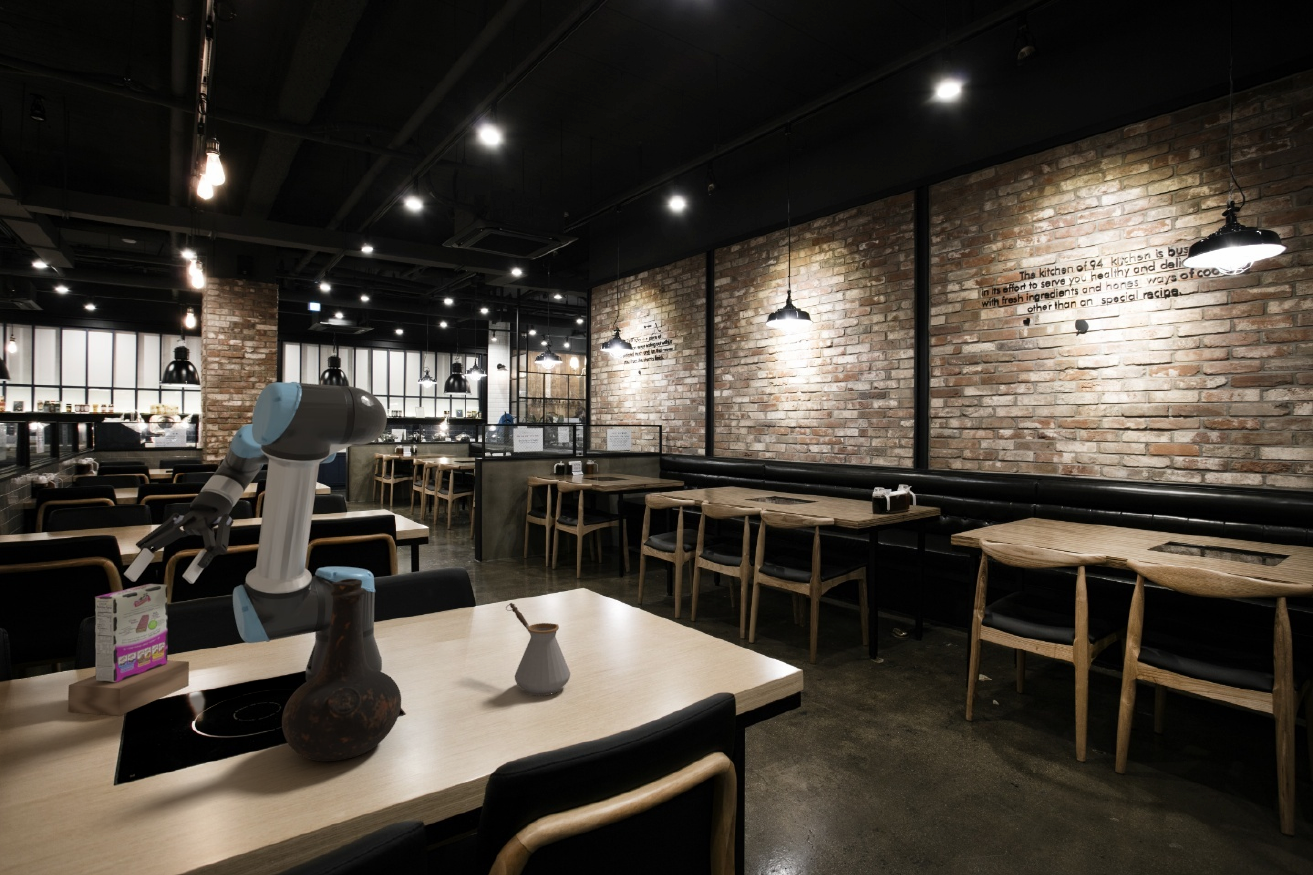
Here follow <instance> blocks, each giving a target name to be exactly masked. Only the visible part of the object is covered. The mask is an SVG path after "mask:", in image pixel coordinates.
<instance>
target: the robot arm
mask: <svg viewBox="0 0 1313 875" xmlns="http://www.w3.org/2000/svg"><path fill="white" fill-rule="evenodd" d="M387 418H388V416H387V412H386V409H385V407H384V405H383V404H382V402H381V401H380V400H379V399H378V398H377V397H376V395H374V394H373V393H370V392H368V391H367V390H365V389H362V388H359V387H355V386H347V385H330V384H329V385H328V384H317V383H316V384H315V383H307V382H306V383H304V382H297V381H291V382H271V383H269V384H267V385H266V386H265V387H264V388H263V389H262V390H261V392H260V393H259V394H258V396H257V399H256V402H255V404H254V408H253V413H252V419H251V422H252V423H248V424H245V425H243V426H241V427H240V428H238V430H237V431H236V432H235V434H234V436H232V439H231V441H230V444H229V447H228V450H227V452H226V454H225V456H224V459H223V461H222V462H221V464H220V465H219V466H218V468H217V469H216V471H215V472H214V474H212V476H211V477H210V478H209V479H208V481H206V483H205V485H204V486H203V487H202V488H201V490H200V492H199V493H198V494H197V495H196V496H195V498H194V499H193V500H192V501H191V503H190V505H189V506H190V507H189V512H188V513H186V514H184V515H180V514H179V513H178V512H175V513H173V514H172V515H171V516H170V517H169V518H168V519H167V520H166V521H164V522H162V524H160V525H159V526H158V527H156V528H155V529H153V530H152V531H151V532H149V533H148V534H147V535H145V536H144V537H143V538H141V539H139V541H137V542H136V543H135V546H136V547H137V548H138V549H139V552H138V553H137V555H136V556H135V557H134V558H133V560H132V562H131V564H130V565H129V567H128V568H127V569H126V570H125V572H124V573H123V575H124V576H125V577H126V578H127V579H129V580H130V581H131V582H136V581H137V580H138V578H139V577H140V576H141V575H142V573H143V572H144V571H145V570H146V568H147V567H148V565H149V564H150V563H151V562H152V560H153V559H154V558H155V556H156V555H155V553H156V552H158V551H160V550H162V549H163V548H165V547H166V546H168V545H170V544H172V543H174V542H176V541H177V540H178V539H181V538H186V537H187V536H195V535H196V536H202V539H203V544H204V547H203V548H204V549H205V550H204V549H200V551H199V552H198V553H197V555H196V556H195V558H194V559H193V560H192V562H191V563H190V564H189V566H188V567H187V569H186V570H185V571H184V573H183V574H182V578H183V579H185V580H186V581H187V582H188V583H189V584H194V583H195V582H196V580H197V579H198V578H199V576H200V574H201V573H202V572H203V570H204V569H206V568H207V567H208V566H209V565H210V563H211V562H212V561H213V559H214V557H217V556H218V555H220V554H221V555H226V554H227V552H228V548H229V540H230V539H229V538H230V531H231V528H232V526H233V524H234V522H235V521H234V520H233V518H232V517H231V516H230V515H229V514H230V513H231V512H232V510H233V507H235V505H236V504H237V503H238V501H239V500H240V499H241V497H242V495H243V494H244V493H245V491H246V490H247V488H248V487H249V485H251V483H252V482H253V480H254V479H255V477H256V476H257V475H258V473H259V472H260V471H261V470H262V468H263V466H264V465H267V474H266V482H265V489H264V496H263V497H264V499H263V505H262V517H261V522H260V525H261V526H260V533H259V539H258V540H259V541H258V547H257V549H258V550H257V556H256V557H257V558H256V566H255V567H254V568H253V569H251V570H250V571H248V573H247V574H246V577H245V582H244V584H240V585H238V586H236V587H234V589H233V591H232V605H233V606H232V608H233V612H234V618H235V623H236V626H237V627H236V628H237V630H238V633H239V635H240V637H241V639H242V640H243V641H244V642H245V643H247V644H255V643H263V642H266V643H270V641H275V640H280V639H287V638H291V637H296V636H300V635H301V636H302V635H307V634H312V633H315V640H314V645H313V646H312V647H313V648H312V650H311V653H310V656H309V659H308V662H307V664H306V667H305V681H306V682H307V681H309V680H310V679H312V678H313V677H315V676H316V675H317V674H318V672H319V671H320V669H321V666H322V664H323V661H324V657H325V654H326V649H327V644H328V639H329V632H330V625H331V615H332V606H333V596H331V593H332V591H333V583H334V582H338V581H341V580H344V579H359V580H362V586H361V588H364V589H366V590H367V592H366V593H365V594H363V595H361V609H362V632H363V645H364V653H365V658H366V662H367V664H368V666H369V668H371V669H375V670H378V671H381V672H382V668H383V659H382V656H381V653H380V650H379V646H378V644H377V640H376V638H375V633H374V632H375V630H374V629H375V628H374V626H375V621H374V620H375V593H376V589H375V577H374V574H373V573H372V572H371V571H370V570H368V569H365V568H359V567H351V566H324V567H319V568H317V569H316V571H315V573H314V574H315V575H314V576H312V573H311V572H310V570H308V569H307V568H306V562H307V555H308V546H309V542H310V541H309V539H310V533H311V525H312V520H313V519H312V518H313V511H314V503H315V498H316V497H315V496H316V489H317V484H318V482H317V481H318V475H319V467H320V464H321V465H322V464H329V463H332V462H333V461H334V460H335V458H336V456H337V453H338V452H340V451H342V450H344V449H347V448H348V447H351V446H357V447H359V446H366V445H368V444H370V443H372V442H375V441H376V440H378V438H380V437H381V435H382V434H383V433H384V432H385V429H386V427H387V422H388V419H387ZM181 527H182V528H181ZM216 527H217V529H216V530H217V531H216V537H215V531H214V528H216ZM215 538H216V539H215Z"/></svg>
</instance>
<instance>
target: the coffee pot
mask: <svg viewBox="0 0 1313 875" xmlns="http://www.w3.org/2000/svg"><path fill="white" fill-rule="evenodd" d="M509 606H510V608H511V609H507V608H508V607H509ZM505 610H506V611H507V612H509V611H512V612H513V613H515V616H516V618H517V619H518V620H519V621H520V623H521V624H522V625H523V627H524V628H526V630H527V632H528V633H529V634H530V639H529V641H528V643H527V646H526V648H525V650H524V653H523V655H522V657H521V660H520V662H519V664H518V667H517V669H516V672H515V675H514V681H515V683H516V685H518V687H519V688H520V689H521V690H523V692H524V693H526V694H527V693H528V694H527V695H530V694H531V695H530V696H535V695H536V696H537V695H538V697H539V696H540V695H541V696H542V697H543V695H544V696H549V695H548V694H551V693H554V694H556V692H557V693H559V692H560V691H561V690H562V688H563V687H565V686H566V684H567V683H568V682H569V680H570V678H571V671H570V669H569V666H568V663H567V662H566V659H565V657H564V654H563V652H562V649H561V647H560V645H559V642H558V640H557V637H556V636H557V631H559V629H560V627H559V624H557V623H552V622H551V623H549V622H542V623H534V624H531V625H529V623H528V622H527V620H526V618H525V616H524V615H523V614H522V612H520V611H519V610H518V607H517V606H516V604H514V603H512V602H509V604H507V606H506V607H505ZM560 689H561V690H560ZM559 690H560V691H559ZM551 695H552V694H551ZM541 696H540V697H541Z"/></svg>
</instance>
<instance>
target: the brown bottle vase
mask: <svg viewBox="0 0 1313 875" xmlns="http://www.w3.org/2000/svg"><path fill="white" fill-rule="evenodd" d="M361 586H362V580H359V579H344V580H341V581H338V582H334V583H333V591H332V593H331V596H333V606H332V615H331V625H330V632H329V639H328V644H327V649H326V654H325V657H324V661H323V664H322V666H321V669H320V671H319V672H318V674H317V675H316V676H315V677H313V678H312V679H310V680H309V681H306V682H304V683H303V684H302V685H300V686H299V687H298V688H297V689H296V690H295V691H293V693H292V694H291V695H290V697H289V698H288V700H287V702H286V704H285V706H284V708H283V712H282V716H281V727H282V732H283V736H284V739H285V741H286V743H287V744H288V746H289V747H291V749H292V750H293V751H294V752H295V753H296V754H298V755H299V756H301V757H303V758H305V759H308V760H312V761H317V762H335V761H341V760H348V759H352V758H355V757H358V756H360V755H363V754H365V753H368V752H369V751H371V750H373V749H374V748H375V747H377V746H378V745H379V744H380V743H381V742H383V740H385V738H386V737H387V736H388V735H389V734H390V733H391V730H392V729H393V727H394V726H395V725H396V722H397V721H398V717H399V715H400V713H401V707H402V694H401V690H400V688H399V686H398V684H397V683H396V681H395V680H394V679H393V678H392V677H391V676H390V675H388V674H386V673H385V672H382V670H381V671H378V670H375V669H371V668H369V666H368V664H367V662H366V658H365V653H364V645H363V632H362V609H361V595H363V594H365V593H366V592H367V590H366V589H364V588H361Z"/></svg>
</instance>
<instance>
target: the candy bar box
mask: <svg viewBox="0 0 1313 875" xmlns="http://www.w3.org/2000/svg"><path fill="white" fill-rule="evenodd" d="M94 602H95V603H94V604H95V606H94V608H95V609H94V612H95V613H94V614H95V615H94V616H95V617H94V618H95V619H94V620H95V621H94V622H95V625H94V626H95V629H94V632H95V633H94V634H95V639H94V640H95V642H94V643H95V646H94V647H95V675H96V681H99V682H113V683H116V682H119V681H122V680H125V679H127V678H130V677H133V676H135V675H138V674H141V673H143V672H146V671H148V670H151V669H154V668H156V667H159V666H162V665H164V664H166V663H168V661H167V660H168V584H159V583H148V584H143V585H140V586H135V587H130V588H127V589H124V590H123V589H122V590H118V591H115V592H109V593H106V594H102V595H97V596H94Z"/></svg>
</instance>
